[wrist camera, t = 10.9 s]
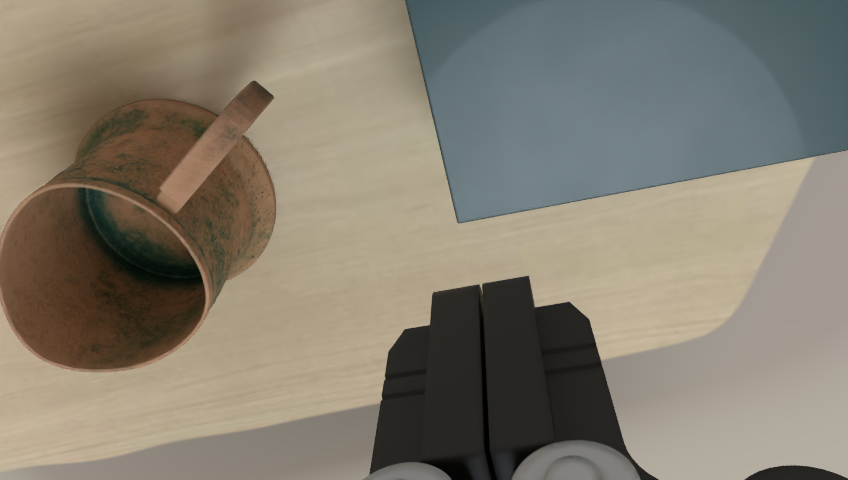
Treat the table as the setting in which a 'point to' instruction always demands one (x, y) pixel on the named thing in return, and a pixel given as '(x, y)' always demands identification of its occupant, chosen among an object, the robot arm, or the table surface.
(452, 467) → the robot arm
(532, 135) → the lid
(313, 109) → the table surface
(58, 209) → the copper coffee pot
